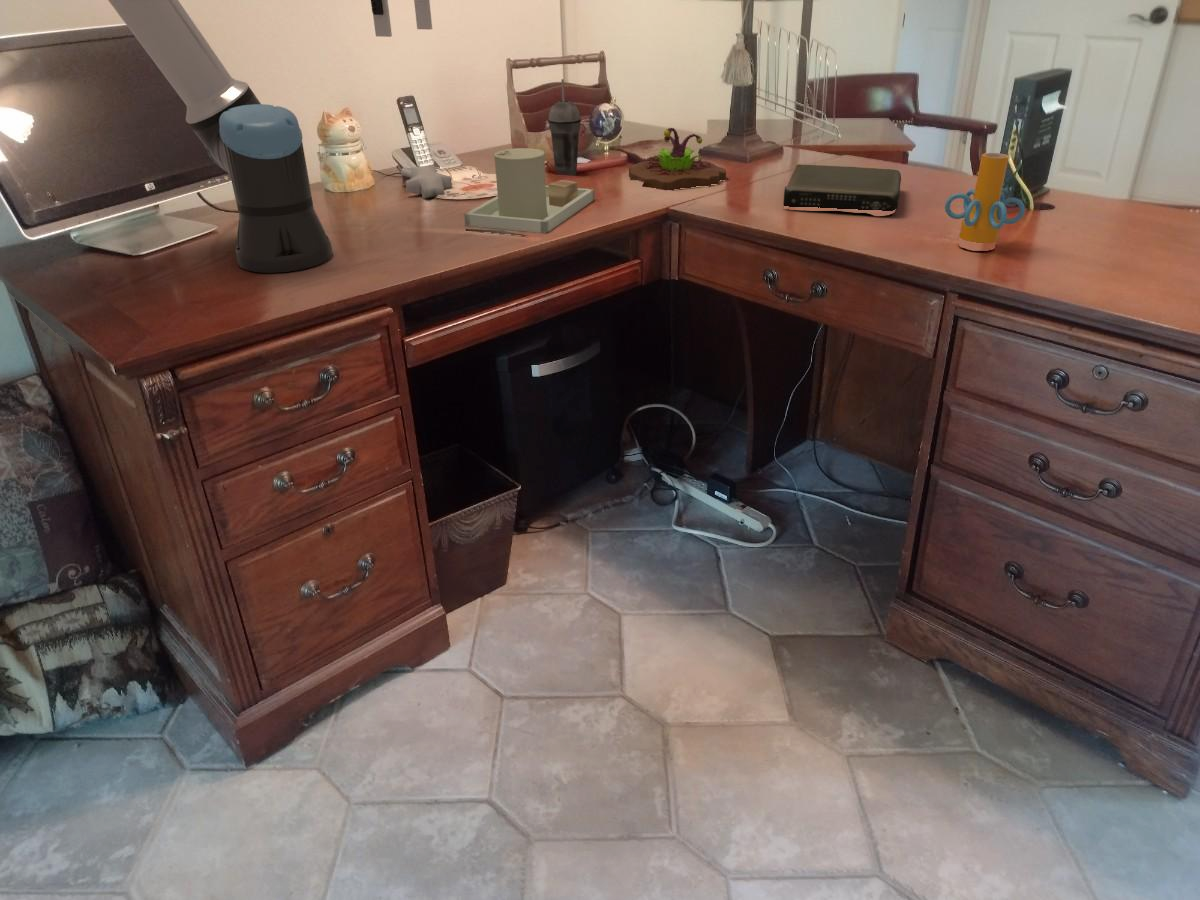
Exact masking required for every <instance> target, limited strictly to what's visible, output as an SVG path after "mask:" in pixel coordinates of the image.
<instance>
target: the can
mask: <svg viewBox="0 0 1200 900" xmlns="http://www.w3.org/2000/svg"><path fill="white" fill-rule="evenodd" d="M545 155H546V153H545V151H544V150H542V149H537V148H531V147H529V148H527V147H518V148H517V147H516V148H506V149H501V150H498V151H496V152H494V153H493V156H494V165H495V177H496V178H495V179H496V191H497V196H498V208H499V216H507V217H517V218H528V219H539V220H543V219H545V218H546V217H548V213H547V204H546V186H547V185H546V168H545V167H546V163H545V162H546V161H545V160H546V159H545Z"/></svg>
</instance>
